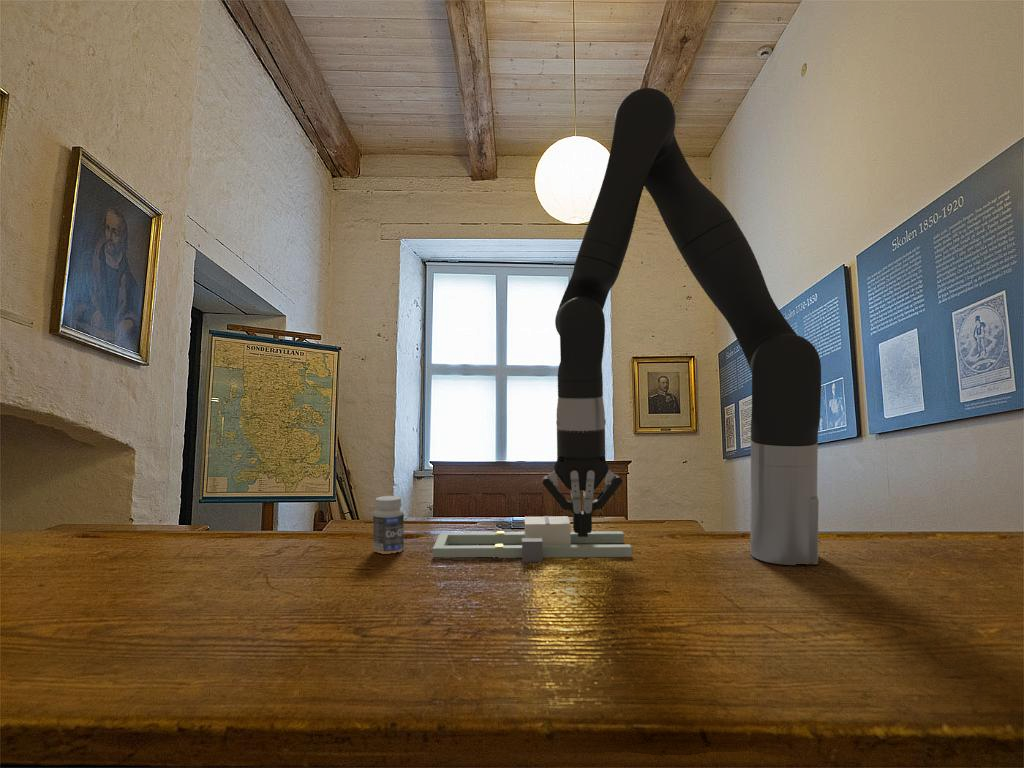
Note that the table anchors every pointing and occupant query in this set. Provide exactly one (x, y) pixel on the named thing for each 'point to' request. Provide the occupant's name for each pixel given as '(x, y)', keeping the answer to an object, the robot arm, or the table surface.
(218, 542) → the table surface
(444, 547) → the slotted beam
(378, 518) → the pill bottle
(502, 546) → the balance mark
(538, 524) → the block
